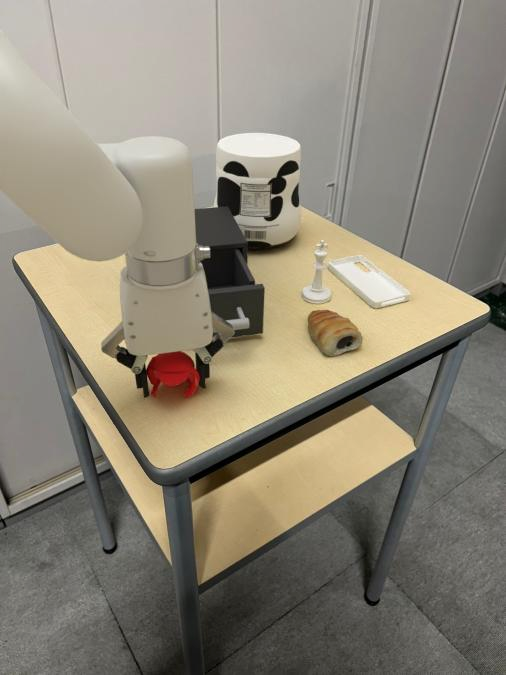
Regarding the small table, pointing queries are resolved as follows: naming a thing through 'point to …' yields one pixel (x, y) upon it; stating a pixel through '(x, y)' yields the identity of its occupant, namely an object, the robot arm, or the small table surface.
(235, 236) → the cabinet
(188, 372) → the red rounded lump
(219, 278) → the drawer
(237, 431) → the small table surface
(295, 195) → the milk container
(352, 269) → the phone case
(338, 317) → the pastry
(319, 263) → the chess piece
